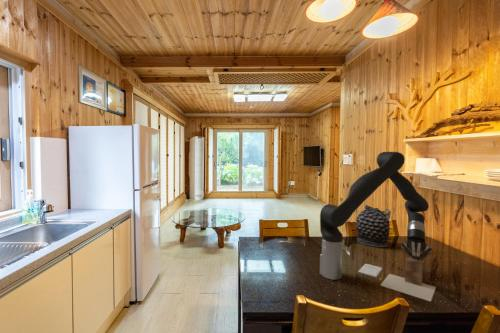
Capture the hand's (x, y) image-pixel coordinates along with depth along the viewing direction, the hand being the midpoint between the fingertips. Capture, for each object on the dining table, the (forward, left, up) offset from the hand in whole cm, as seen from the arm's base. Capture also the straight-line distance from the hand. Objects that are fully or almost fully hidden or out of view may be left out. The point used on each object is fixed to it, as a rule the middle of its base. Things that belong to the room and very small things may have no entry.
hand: (415, 265), depth 117 cm
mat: (-1, -12, -6) cm, 13 cm away
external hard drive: (-18, -7, -7) cm, 20 cm away
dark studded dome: (-30, +36, -7) cm, 47 cm away
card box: (0, -6, -6) cm, 8 cm away
